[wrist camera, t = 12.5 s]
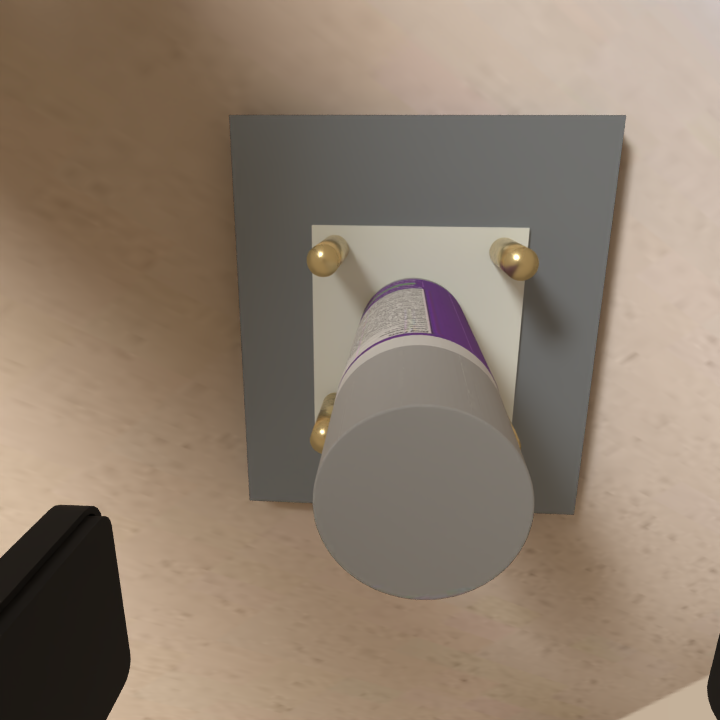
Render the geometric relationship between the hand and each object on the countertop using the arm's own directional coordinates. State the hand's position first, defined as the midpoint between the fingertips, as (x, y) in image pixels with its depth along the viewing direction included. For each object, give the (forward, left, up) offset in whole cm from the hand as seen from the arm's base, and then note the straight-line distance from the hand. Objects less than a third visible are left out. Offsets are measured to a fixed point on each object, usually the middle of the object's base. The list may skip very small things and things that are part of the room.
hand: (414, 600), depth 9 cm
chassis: (0, 0, -20) cm, 20 cm away
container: (0, 0, -18) cm, 18 cm away
